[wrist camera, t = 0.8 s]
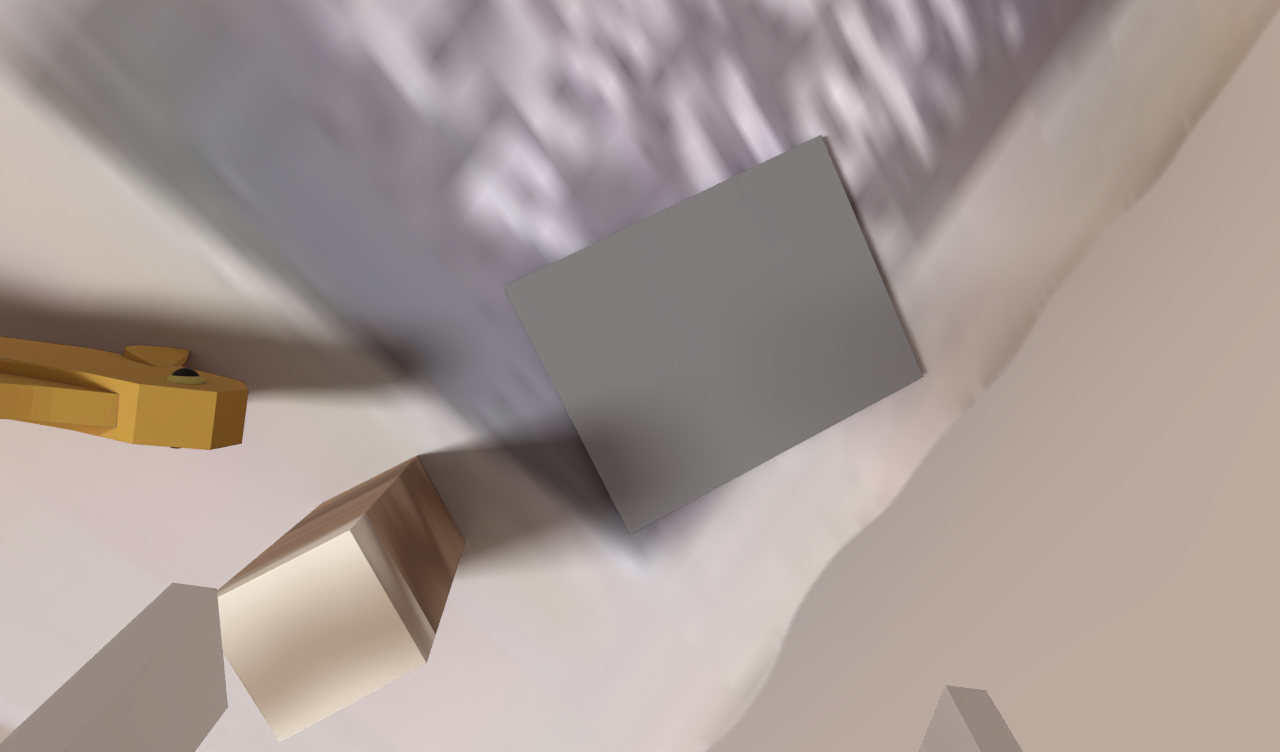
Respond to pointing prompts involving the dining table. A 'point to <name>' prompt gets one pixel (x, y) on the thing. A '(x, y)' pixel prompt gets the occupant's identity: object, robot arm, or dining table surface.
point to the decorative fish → (121, 394)
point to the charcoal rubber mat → (717, 332)
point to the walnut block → (342, 599)
